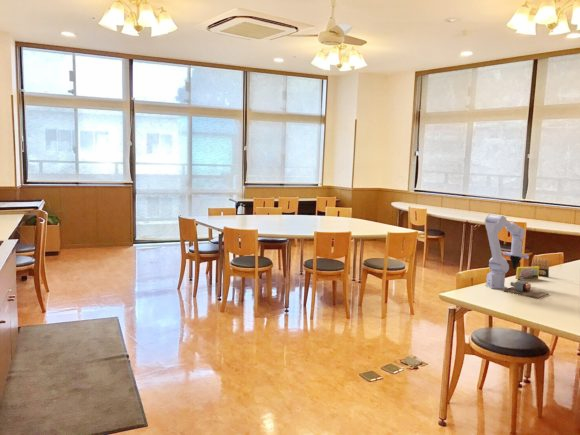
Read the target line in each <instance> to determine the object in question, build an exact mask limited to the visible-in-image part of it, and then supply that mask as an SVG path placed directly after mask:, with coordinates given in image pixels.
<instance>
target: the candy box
mask: <svg viewBox="0 0 580 435" xmlns="http://www.w3.org/2000/svg"><path fill="white" fill-rule="evenodd" d="M539 268H540V267H538V266H536V267H531V266H517V269H516V273H515V279H532V280H539V277H540V276H539Z"/></svg>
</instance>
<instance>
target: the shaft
mask: <svg viewBox="0 0 580 435" xmlns="http://www.w3.org/2000/svg"><path fill="white" fill-rule="evenodd" d="M531 285H532V284H531V283H530V282H528V283H526V284H525V285H524V289H525V291H530V289H531V288H532V286H531ZM510 286H511V287H513V286H515V282H513V281H511V282H510Z"/></svg>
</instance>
